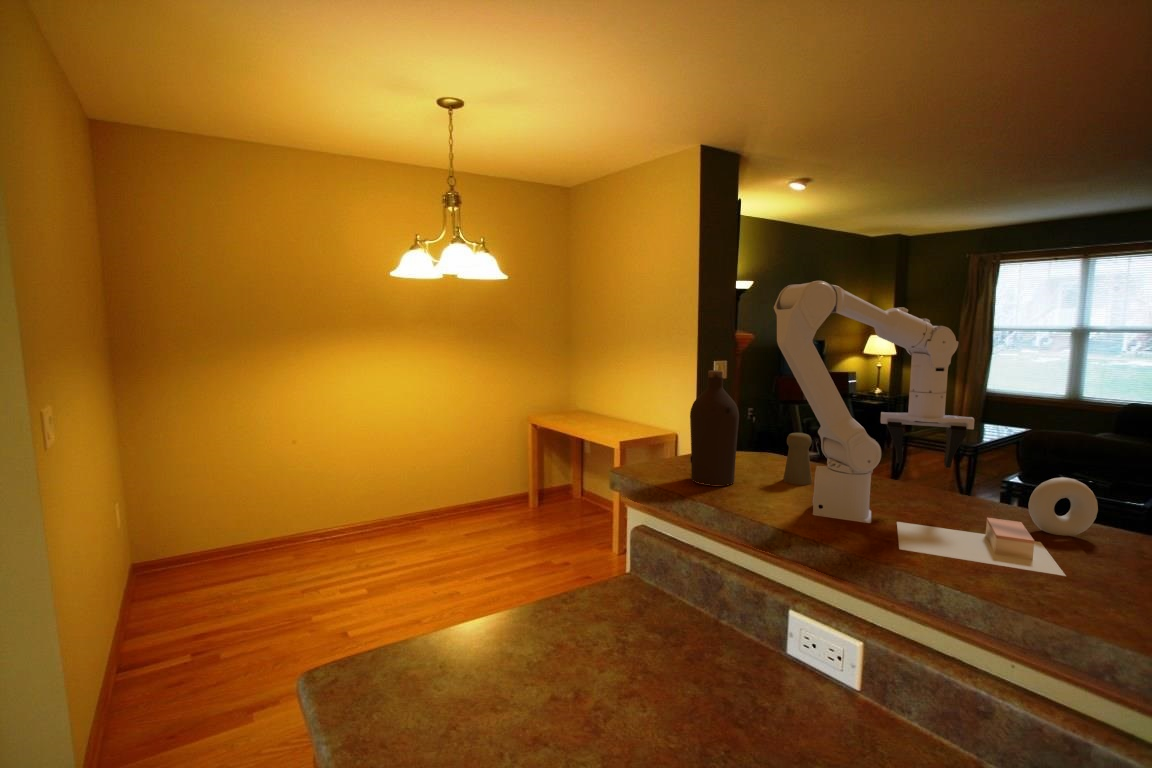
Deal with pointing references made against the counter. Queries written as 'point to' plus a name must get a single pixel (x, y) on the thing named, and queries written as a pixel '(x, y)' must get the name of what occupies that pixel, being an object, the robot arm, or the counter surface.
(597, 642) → the counter surface
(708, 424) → the olive oil
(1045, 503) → the donut
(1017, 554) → the pink and beige box
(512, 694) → the counter surface
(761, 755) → the counter surface
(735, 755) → the counter surface
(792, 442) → the cork
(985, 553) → the mat
